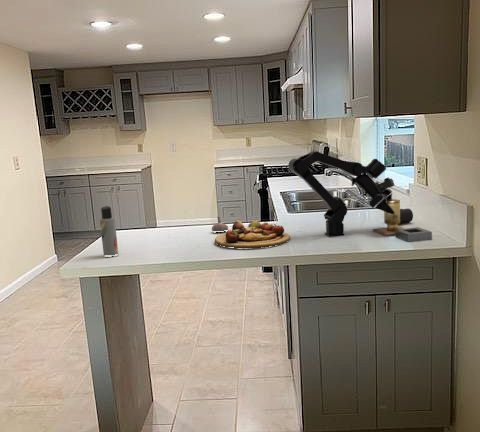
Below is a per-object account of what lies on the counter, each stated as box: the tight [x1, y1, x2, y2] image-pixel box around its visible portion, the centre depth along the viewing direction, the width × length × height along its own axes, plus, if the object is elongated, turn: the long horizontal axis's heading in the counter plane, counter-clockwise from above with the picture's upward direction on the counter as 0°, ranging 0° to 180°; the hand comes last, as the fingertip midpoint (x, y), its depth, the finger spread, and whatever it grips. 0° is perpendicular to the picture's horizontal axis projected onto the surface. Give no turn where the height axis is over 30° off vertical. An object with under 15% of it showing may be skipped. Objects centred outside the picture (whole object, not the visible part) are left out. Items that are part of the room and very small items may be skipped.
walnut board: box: [372, 225, 406, 238], centre depth 206 cm, size 12×12×1 cm
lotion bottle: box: [99, 205, 119, 256], centre depth 196 cm, size 6×6×20 cm
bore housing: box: [394, 226, 433, 243], centre depth 194 cm, size 10×10×3 cm
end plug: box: [383, 198, 401, 231], centre depth 205 cm, size 7×7×12 cm
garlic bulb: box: [211, 215, 229, 232], centre depth 229 cm, size 8×7×8 cm
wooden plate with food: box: [214, 219, 291, 248], centre depth 207 cm, size 32×32×8 cm
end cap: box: [398, 208, 414, 225], centre depth 222 cm, size 10×7×7 cm
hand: (395, 212), depth 204 cm, fingers open, 8 cm apart
